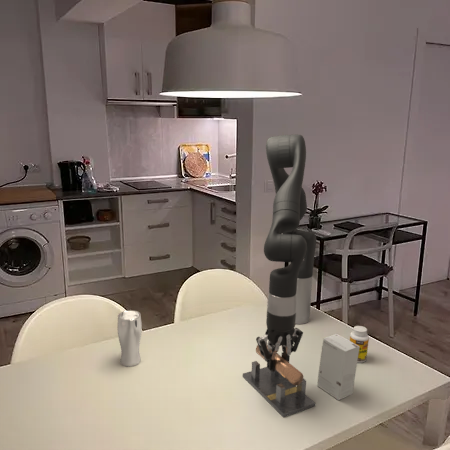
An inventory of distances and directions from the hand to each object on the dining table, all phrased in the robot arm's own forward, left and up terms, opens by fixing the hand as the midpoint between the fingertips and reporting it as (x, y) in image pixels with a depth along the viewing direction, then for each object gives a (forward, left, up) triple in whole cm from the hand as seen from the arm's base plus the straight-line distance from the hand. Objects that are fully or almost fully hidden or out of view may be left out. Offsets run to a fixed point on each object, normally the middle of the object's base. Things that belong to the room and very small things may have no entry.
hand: (278, 368), depth 124 cm
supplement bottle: (-3, +32, -7) cm, 33 cm away
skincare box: (+7, +15, -7) cm, 18 cm away
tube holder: (0, 0, -7) cm, 7 cm away
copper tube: (0, 0, 0) cm, 0 cm away
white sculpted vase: (-32, -31, -7) cm, 45 cm away
